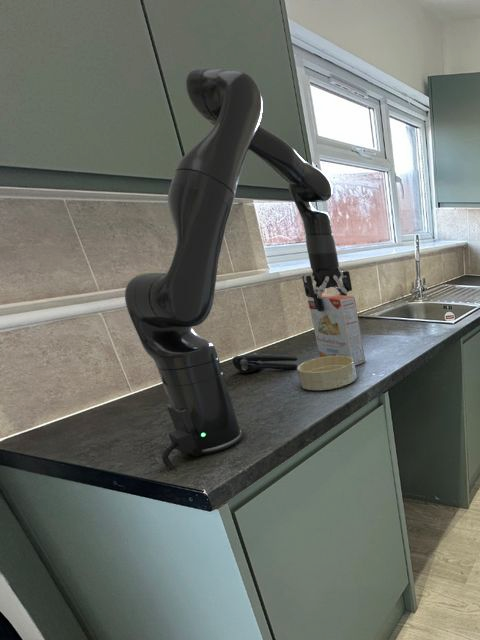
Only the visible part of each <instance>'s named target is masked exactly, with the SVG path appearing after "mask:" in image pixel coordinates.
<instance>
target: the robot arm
mask: <svg viewBox="0 0 480 640" xmlns="http://www.w3.org/2000/svg"><path fill="white" fill-rule="evenodd" d="M185 89H186V93H187V97H188V99H189V101H190V103H191V104H192V106H193V108H194V109H195V110H196V111H197V113H198V114H199V115H201V117H202V118H204V120H206V121H207V122H209V123H210V124H211V125H213V127H212V129H211V130H210V131H209V132H208V133H207V134H206V135H205V136H204V137H203V138H201V140H200V141H198V142H197V143H196V144H195V145H193V146H192V147H191V148H190V149H189V150H188V151H187V152H186V153H185V154H184V155H183V156H182V157H181V159H180V160H179V161H178V162H177V165H176V167H175V169H174V172H173V176H172V179H171V181H170V186H169V189H168V193H167V206H168V211H169V214H170V219H171V221H172V224H173V226H174V230H175V233H176V234H175V235H176V245H175V250H174V253H173V257H172V261H171V263H170V266H169V268H168V271H167V272H154V273H153V272H150V273H149V272H148V273H141V274H138V275H136V276H134V277H133V278H131V279H130V280H129V281H128V282H127V284H126V287H125V289H124V291H125V292H124V302H125V307H126V310H127V312H128V316H129V318H130V320H131V323H132V325H133V327H134V329H135V332H136V334H137V336H138V338H139V341H140V343H141V346H142V347H143V349H144V351H145V352H146V353H147V355H148V356H149V357H150V358H152V360H153V361H154V363H155V366H156V369H157V371H158V374H159V376H160V379H161V382H162V385H163V388H164V390H165V393H166V397H167V399H168V402H169V404H167V405H166V407H167V410H168V413H169V416H170V418H171V421H172V425H173V427H174V429H175V430H174V431H172V432H168V436H169V440H170V442H171V444H170V445H169V446H168V447H167V448H166V449H165V450H164V451H163V453H162V456H161V460H162V462H163V464H164V465H165V467H166V468H170V467H172V466H173V467H174V465H173V464H172V462H171V461H170V458H169V456H170V454H171V452H172V451H174V450H177V451H178V452H180V453H181V454H185V453H187V454H190V455H191V456H193V457H195V458H198V457H201V456H203V455H208V454H213V453H214V454H215V453H217V452H221V451H224V450H226V449H229V448H231V447H233V446H234V445H237V444H238V443H239V442H241V440H242V438H243V433H242V430H241V428H240V425H239V422H238V418H237V414H236V412H235V408H234V405H233V401H232V398H231V395H230V392H229V389H228V384H227V381H226V378H225V376H224V373H223V368H222V365H221V361H220V359H219V356H218V355H219V354H218V351H217V349H216V346H215V345H214V343H213V342H211V341H209V340H208V339H206V338H205V337H202V336H201V335H200V334H198V333H197V332H196V331H195V330H194V329H193V327H196V326H199V325H201V324H202V323H204V321H206V320H207V318H208V317H209V315H210V314H211V310H212V308H213V303H214V299H215V291H216V283H217V275H218V268H219V262H220V256H221V252H222V247H223V242H224V238H225V234H226V230H227V226H228V222H229V218H230V216H231V214H232V213H231V212H232V209H233V206H234V201H235V199H236V193H237V188H238V183H239V180H240V177H241V173H242V171H243V167H244V163H245V160H246V158H247V154H248V152H249V151H250V152H252V153H253V154H254V155H256V156H257V157H258V158H260V160H262V162H264V163H265V164H266V165H267V166H268V167H270V169H272V170H273V171H274V172H275V173H276V174H277V175H278V176H279V177H280V178H281V179H282V181H284V182H285V183H287V184H288V191H289V194H290V196H291V198H292V200H293V202H294V204H295V206H296V209H297V210H298V213H299V216H300V217H301V220H302V225H303V230H304V234H305V244H306V250H307V254H308V260H309V266H310V269H311V270H312V273H311V275H304V274H303V275H302V276H301V278H302V283H303V288H304V293H305V296H306V298H307V297H311V298H313V299H314V303H315V308H316V310H318V311H320V312H322V311H324V307H323V302H322V299H321V296H322V294H324V292H325V290H326V289H329V288H334V289H335V290H336V291H337V292H338V293H339V294H338V295H345V296H348V293H349V292H351V291H352V290H353V287H352V282H351V281H352V279H351V275H350V271H349V270H339V267H340V262H339V258H338V252H337V246H336V241H335V238H334V235H333V229H332V223H331V218H330V216H329V215H330V214H328V212H326V211H321V210H317V209H315V208H314V206H312V204H311V203H315V202H316V203H321V202H323V203H324V202H327V201H328V200H330V199H331V197H332V194H333V187H332V183H331V182H330V180H329V178H328V177H327V176H326V175H325V173H323V172H322V171H321V170H320V169H318V168H317V167H315V166H313V165H312V164H311V163H309V162H308V161H305V160H304V159H303V158H302V157H301V156H300V155H299V153H297V151H296V150H295V149H294V148H293V146H291V145H290V144H289V143H288V142H287V141H285V139H283V138H281V137H280V136H278V135H276V134H275V133H273V132H272V131H270V130H268V129H266V128H264V127H263V126H261V125H260V122H261V120H262V115H263V114H262V113H263V97H262V93H261V90H260V88H259V85H258V83H257V82H256V80H255V79H254V78H253V77H252V76H251V75H249V74H248V73H247V72H245V71H242V70H239V69H234V68H221V67H196V68H192V69H191V70H190V71H189V72H188V73H187V75H186V79H185ZM340 278H341V280H340ZM314 282H315V284H314V285H313V283H314Z"/></svg>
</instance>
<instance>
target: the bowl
mask: <svg viewBox="0 0 480 640" xmlns="http://www.w3.org/2000/svg"><path fill="white" fill-rule="evenodd" d="M297 366H298V367H297V368H296V371H297V376H298V379H299V384H300V387H301V388H302V389H304V390H307V391H329V390H330V391H331V390H335V389H339V388H343V387H345V386H347V385H349V384H351V383H353V382H354V381H356V380H357V378H358V375H357V369H356V366H355V363H354V359H353V358H352V357H348V356H326V357H320V356H319V357H315V358H312V359H308V360H306V361H304V362H301V363H300V364H297Z"/></svg>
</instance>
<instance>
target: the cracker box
mask: <svg viewBox="0 0 480 640" xmlns="http://www.w3.org/2000/svg"><path fill="white" fill-rule="evenodd" d="M306 298H307V303H308V308H309V312H310V317H311V322H312V326H313V330H314V335H315V339H316V345H317V350H318V354H319V358H320V357H326V356H348V357H352V358H353V359H354V363H355V367H356V366H359V365H362V364H364V363H366V355H365V350H364V343H363V338H362V334H361V328H360V321H359V317H358V311H357V304H356V298H355V295H347V296H345V295H339V294H334V293H333V294H332V293H322V296H321V299H322V302H323V307H324V311H322V312H320V311H318V310H316V308H315V303H314V299H313V298H311V297H307V296H306Z"/></svg>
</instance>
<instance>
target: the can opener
mask: <svg viewBox="0 0 480 640" xmlns="http://www.w3.org/2000/svg"><path fill="white" fill-rule="evenodd" d="M297 360H298V357H297V356H293V355H285V354H258V353H257V352H254V353H253V354H243V355H242V354H241V355H235V356H233V358H232V365H233V366H234V368H235V369H236V370H238V371H239V372H240V373H243V374H251V373H253V372H256V371H258V370H262V369H272V370H295V369H297V367H298V364H296V363H285V362H295V361H297ZM281 362H284V363H281Z"/></svg>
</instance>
